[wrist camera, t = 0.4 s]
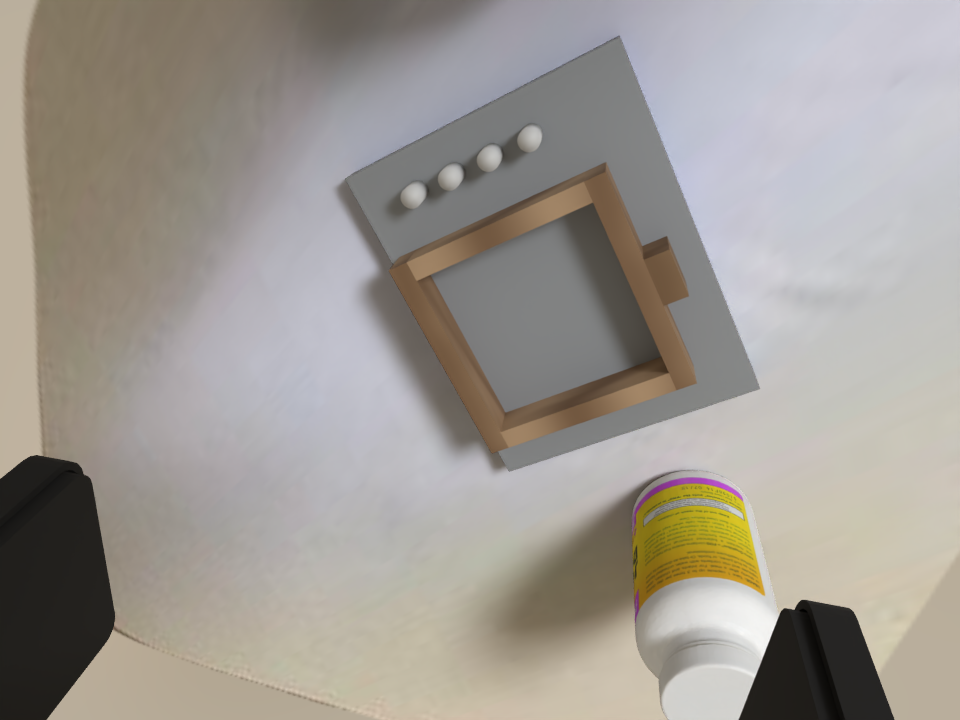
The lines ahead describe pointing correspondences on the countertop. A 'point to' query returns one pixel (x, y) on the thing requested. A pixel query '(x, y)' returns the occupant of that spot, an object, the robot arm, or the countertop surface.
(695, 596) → the supplement bottle
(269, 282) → the countertop surface
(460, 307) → the board
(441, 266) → the frame
